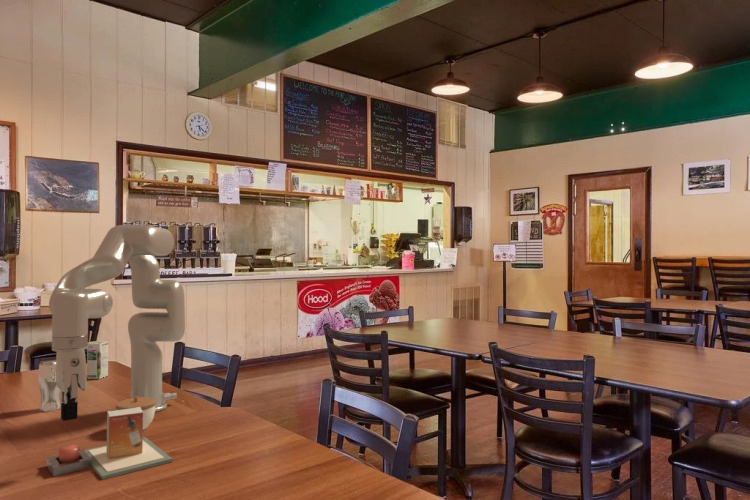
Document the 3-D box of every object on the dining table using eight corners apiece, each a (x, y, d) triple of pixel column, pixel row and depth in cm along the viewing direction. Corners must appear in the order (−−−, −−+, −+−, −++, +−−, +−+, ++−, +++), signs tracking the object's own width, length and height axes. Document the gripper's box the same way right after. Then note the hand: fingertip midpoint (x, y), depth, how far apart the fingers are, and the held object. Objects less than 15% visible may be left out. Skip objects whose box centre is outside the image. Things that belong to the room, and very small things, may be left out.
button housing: (83, 457, 135) (83, 449, 135) (91, 467, 129) (91, 459, 129) (46, 465, 129) (46, 457, 129) (53, 476, 123) (53, 467, 123)
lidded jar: (146, 420, 164) (147, 389, 164) (161, 428, 156) (161, 396, 156) (109, 428, 157) (110, 396, 157) (123, 437, 149) (123, 404, 149)
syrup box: (86, 379, 214) (86, 342, 214) (96, 375, 220) (96, 340, 220) (99, 379, 213) (99, 343, 213) (108, 376, 219) (109, 340, 219)
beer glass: (33, 410, 172) (33, 364, 172) (53, 404, 179) (53, 360, 179) (48, 413, 170) (48, 366, 170) (67, 407, 176) (68, 362, 176)
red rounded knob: (77, 454, 132) (77, 443, 132) (81, 460, 129) (81, 448, 129) (56, 459, 129) (57, 447, 129) (60, 464, 126) (61, 452, 126)
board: (144, 439, 148) (145, 436, 148) (172, 461, 133) (172, 457, 133) (80, 453, 137) (80, 450, 137) (102, 479, 122) (102, 475, 122)
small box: (107, 459, 131) (108, 416, 131) (106, 451, 136) (106, 410, 136) (143, 453, 135) (143, 412, 135) (140, 446, 140) (140, 406, 140)
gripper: (95, 345, 126) (94, 423, 126) (79, 337, 137) (78, 409, 137) (59, 349, 121) (58, 430, 121) (45, 340, 132) (44, 414, 132)
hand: (69, 418), depth 129 cm, fingers closed
